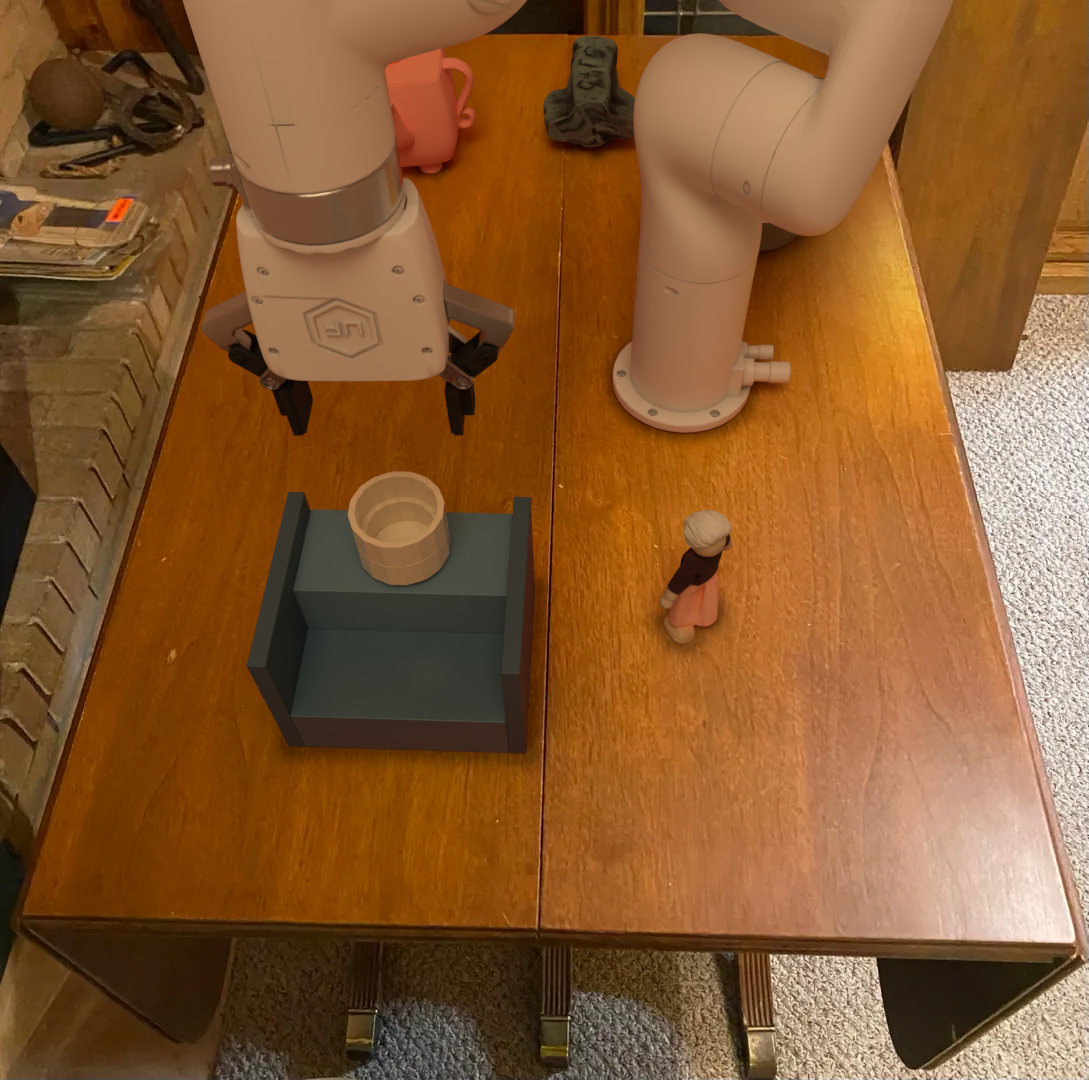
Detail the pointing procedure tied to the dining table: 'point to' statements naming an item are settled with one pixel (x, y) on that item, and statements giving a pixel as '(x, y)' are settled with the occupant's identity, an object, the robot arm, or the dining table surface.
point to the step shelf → (398, 638)
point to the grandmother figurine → (696, 576)
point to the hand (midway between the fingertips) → (381, 418)
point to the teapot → (428, 108)
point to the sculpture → (590, 98)
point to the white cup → (400, 527)
